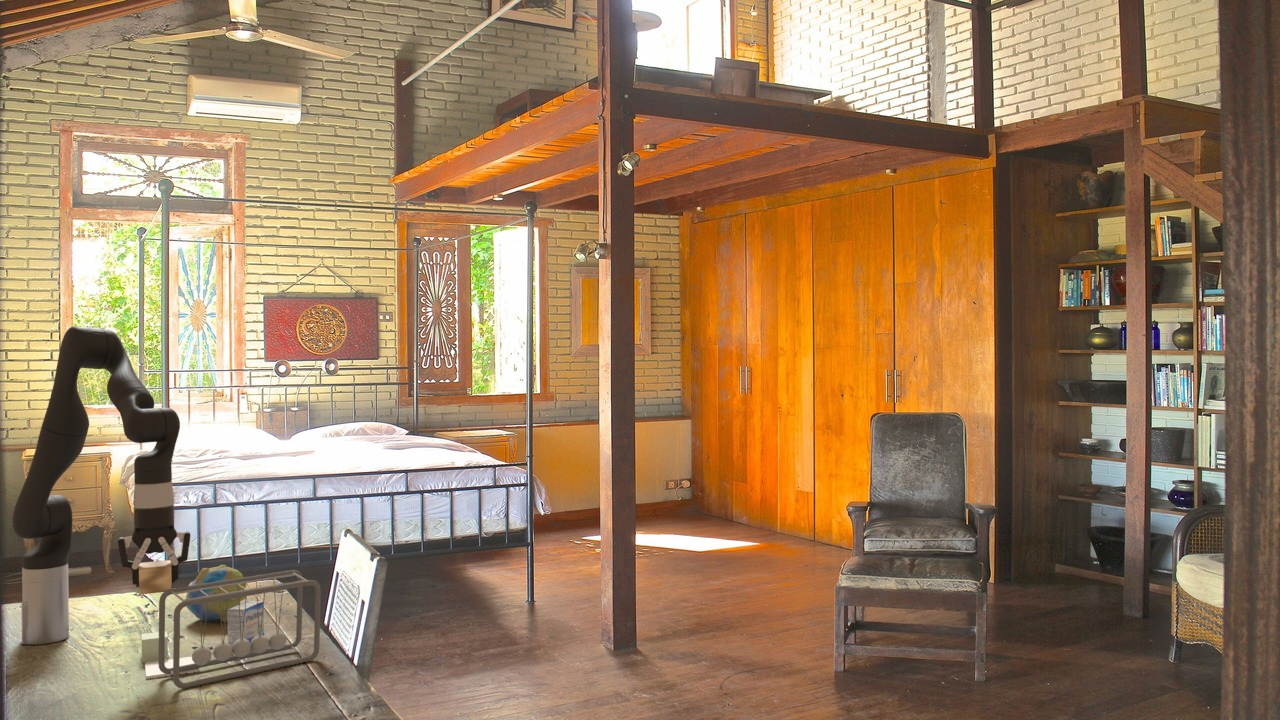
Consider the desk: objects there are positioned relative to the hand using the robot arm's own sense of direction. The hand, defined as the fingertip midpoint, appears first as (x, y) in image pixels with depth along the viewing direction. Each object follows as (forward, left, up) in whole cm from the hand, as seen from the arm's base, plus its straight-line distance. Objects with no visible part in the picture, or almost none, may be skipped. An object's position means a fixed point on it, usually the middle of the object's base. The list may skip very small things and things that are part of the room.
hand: (155, 584), depth 212 cm
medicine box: (+19, +14, -19) cm, 30 cm away
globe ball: (+16, +38, -18) cm, 45 cm away
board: (+3, +1, -18) cm, 18 cm away
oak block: (0, 0, -1) cm, 1 cm away
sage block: (0, +11, -18) cm, 21 cm away
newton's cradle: (+16, -7, -18) cm, 25 cm away
